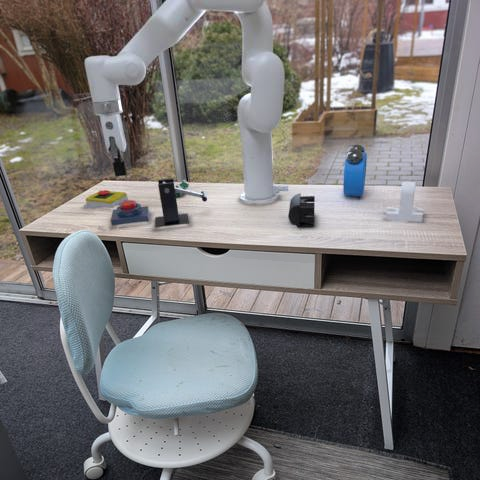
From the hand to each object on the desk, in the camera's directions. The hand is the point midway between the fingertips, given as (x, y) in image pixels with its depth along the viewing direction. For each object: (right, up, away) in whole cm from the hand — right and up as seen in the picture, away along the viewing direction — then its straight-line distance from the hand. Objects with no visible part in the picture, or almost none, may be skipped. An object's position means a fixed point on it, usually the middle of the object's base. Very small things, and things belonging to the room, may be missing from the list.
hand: (121, 174), depth 139 cm
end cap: (+53, -14, -3) cm, 55 cm away
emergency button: (-10, -3, +23) cm, 25 cm away
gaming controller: (+14, +1, +26) cm, 30 cm away
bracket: (+15, -14, +3) cm, 20 cm away
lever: (+18, -6, -1) cm, 19 cm away
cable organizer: (+81, -14, -5) cm, 83 cm away
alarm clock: (+71, -3, +13) cm, 73 cm away
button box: (+1, -12, +8) cm, 14 cm away
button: (+1, -9, +6) cm, 10 cm away
